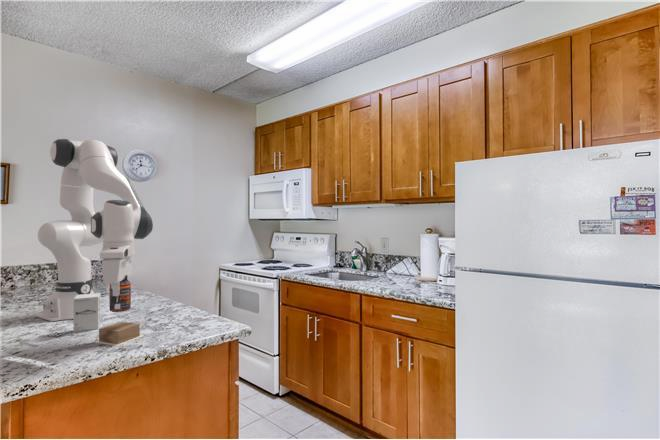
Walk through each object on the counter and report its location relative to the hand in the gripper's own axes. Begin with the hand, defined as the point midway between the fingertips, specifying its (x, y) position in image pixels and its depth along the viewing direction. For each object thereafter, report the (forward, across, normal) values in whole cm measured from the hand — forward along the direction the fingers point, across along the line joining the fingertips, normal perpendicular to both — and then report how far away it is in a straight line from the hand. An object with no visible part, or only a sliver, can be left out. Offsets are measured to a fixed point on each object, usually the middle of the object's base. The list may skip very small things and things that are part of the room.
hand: (119, 293), depth 114 cm
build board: (+16, -3, -2) cm, 16 cm away
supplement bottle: (+6, 0, 0) cm, 6 cm away
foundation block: (+15, 0, 0) cm, 15 cm away
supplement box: (+16, -16, -14) cm, 27 cm away
